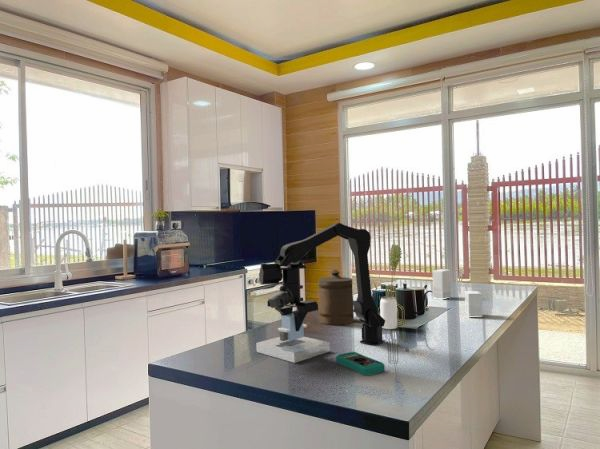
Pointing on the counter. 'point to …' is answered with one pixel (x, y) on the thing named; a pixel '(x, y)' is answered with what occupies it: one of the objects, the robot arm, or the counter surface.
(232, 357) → the counter surface
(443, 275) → the skincare box
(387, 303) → the can
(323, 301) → the wooden container
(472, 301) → the small box
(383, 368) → the digital multimeter
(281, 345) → the white flat slab
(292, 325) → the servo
